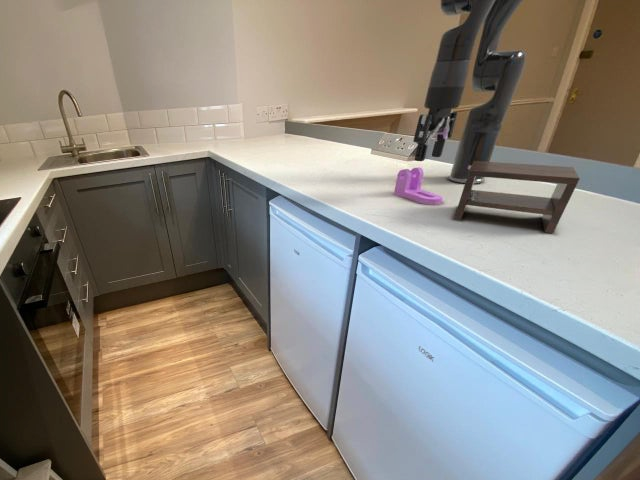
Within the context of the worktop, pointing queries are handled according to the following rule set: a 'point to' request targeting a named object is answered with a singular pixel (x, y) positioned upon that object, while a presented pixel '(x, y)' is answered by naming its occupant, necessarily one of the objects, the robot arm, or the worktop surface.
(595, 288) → the worktop surface
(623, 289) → the worktop surface
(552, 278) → the worktop surface
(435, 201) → the bracket
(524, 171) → the shelf
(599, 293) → the worktop surface
